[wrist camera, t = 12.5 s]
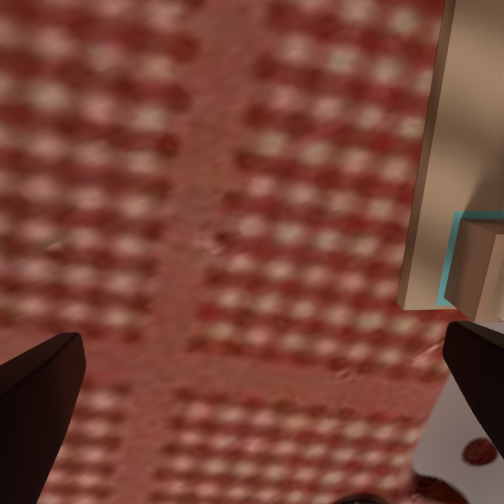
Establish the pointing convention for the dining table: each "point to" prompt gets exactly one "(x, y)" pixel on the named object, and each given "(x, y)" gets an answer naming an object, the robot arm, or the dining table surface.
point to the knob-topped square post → (478, 270)
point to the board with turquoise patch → (457, 148)
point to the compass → (360, 502)
